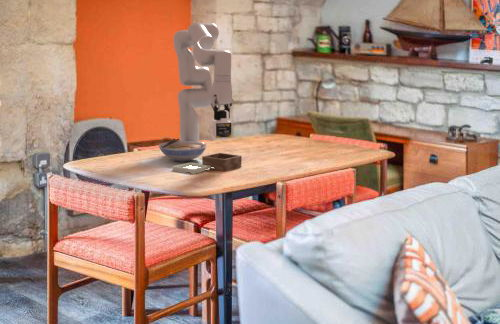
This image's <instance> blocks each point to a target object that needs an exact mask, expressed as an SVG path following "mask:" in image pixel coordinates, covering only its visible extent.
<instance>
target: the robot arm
mask: <svg viewBox="0 0 500 324" xmlns="http://www.w3.org/2000/svg"><path fill="white" fill-rule="evenodd" d="M219 33H220V31H219V28H218V26H217V25H216V24H215V23H213V22H194V23H191V24H190V25H189V26H188V28H187V29H183V30H178V31H176V32H175V33H174V35H173V39H172V40H173V48H174V51H175V53H176V57H177V64H178V75H179V76H178V77H179V84H181V85H182V86H185V87H192V88H183V89H181V90H180V91H178V93H177V102H178V108H179V141H191V142H200V117H199V114H198V113H197V111H196V110H195V109H198V108H199V109H200V108H202V109H203V108H210V107H211V108H212V111H213V120H220V113H221V112H220V110H221V106H222V105H223V108H224V109H223V110H227V111H228V112H229V119H231V110H232V109H231V108H232V105H233V103H234V99H233V89H232V88H233V87H232V86H233V85H232V53H231V51H230V50H226V49H223V48H219V49H218V48H213V46H214V44H215V42H216V41H217V39H218V37H219ZM190 48H192V50H190ZM196 62H197V64H198V66H197V64H196ZM199 65H200V66H199ZM208 67H213V78H212V73H211V70H210V69H209V68H208ZM212 79H213V80H212ZM197 86H198V87H199V86H200V87H199V88H193V87H197Z"/></svg>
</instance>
